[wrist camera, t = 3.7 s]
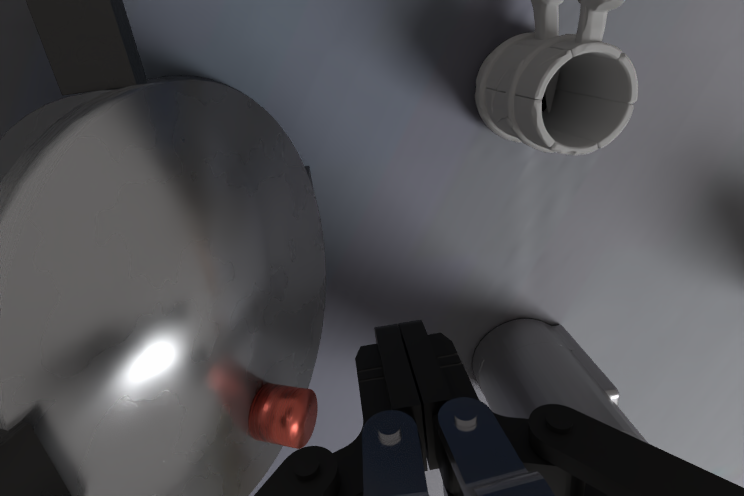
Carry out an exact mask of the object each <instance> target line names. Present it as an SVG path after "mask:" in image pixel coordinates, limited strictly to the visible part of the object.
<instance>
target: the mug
mask: <svg viewBox="0 0 744 496" xmlns="http://www.w3.org/2000/svg"><path fill="white" fill-rule="evenodd" d="M625 1H626V0H578V2H579V3H581V9H580V18H579V24H578V29H577V34H565V35H561V36H559V13H558V7H559V4H561V3H562V2H563V0H531V2H532V6H533V10H534V19H535V32H529V33H523V34H519V35H516V36H514V37H511V38H509V39H508V40H506V41H504V42H503V43H501V44H500V45H499V46H498V47H497V48H496V49H495V50H494V51H493V52H492V53H490V54H489V55H488V56H487V58H486V59H485V60H484V62H483V64H482V65H481V67H480V69H479V72H478V75H477V78H476V93H475V101H476V106H477V109H478V112H479V114H480V116H481V118H482V120H483V122H484V123H485V124H486V126H487V127H488V128H489V129H490V130H491V131H492V132H494V133H495V134H497V135H498V136H500V137H502V138H504V139H506V140H511V141H514V142H517V143H519V142H523V143H524V144H526V145H528V146H530V147H532V148H534V149H537V150H540V151H543V152H545V153H552V152H557V153H560V154H568V155H582V154H588V153H591V152H593V151H596V150H598V148H599V149H601V148H603V147H605V146H606V145H608V144H609V143H610V142H611V141H613V140H614V139H615V138H616V137H617V136H618V135H619V134H620V133H621V131H622V130H623V129H624V127H625V126H626V125H627V123H628V121H629V119H630V117H631V115H632V112H633V108H634V106H633V105H631V103H634V102H636V101H637V96H638V81H637V75H636V71H635V68H634V66H633V64H632V62H631V60H630V59H629V58H628V56H627V55H626V54H625V53H621V52H622V51H621V50H620V49H619V48H617V47H615V46H613V45H611V44H607V43H603V42H602V38H603V33H604V29H605V25H606V18H607V13H608V11H609V10H613V9H616V8H618V7H619V6H621V5H622V4H623V3H624V2H625ZM544 92H545V97H546V104H547V108H546V109H545V111H544V112H543V113H542V98H543V96H544Z"/></svg>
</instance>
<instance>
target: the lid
mask: <svg viewBox="0 0 744 496" xmlns="http://www.w3.org/2000/svg"><path fill="white" fill-rule="evenodd" d="M325 292H326V260H325V248H324V238H323V231H322V224H321V219H320V214H319V210H318V205H317V201H316V198H315V194H314V191H313V188H312V185H311V182H310V179H309V177H308V174H307V171H306V169H305V167H304V165H303V163H302V160H301V158H300V156H299V154H298V152H297V151H296V149H295V147H294V145H293V144H292V142H291V140H290V139H289V137H288V136H287V134H286V133H285V132H284V130H283V129H282V128H281V127H280V125H279V124H278V123H277V121H276V120H275V119H274V118H273V117H272V116H271V115H270V114H269V113H268V112H267V111H266V110H265V109H264V108H262V107H261V106H260V105H259V104H257V103H256V102H255V101H253V100H252V99H251V98H249V97H248V96H246V95H244V94H242V93H240V92H238V91H237V90H235V89H233V88H230V87H227V86H224V85H221V84H218V83H215V82H209V81H201V80H193V79H192V80H179V81H167V82H158V83H149V84H140V85H132V86H128V87H124V88H120V89H116V90H113V91H109V92H105V93H103V94H101V95H99V96H97V97H95V98H93V99H90V100H88V101H86V102H84V103H82V104H80V105H78V106H76V107H75V108H74V109H72V110H71V111H69V112H68V113H67V114H65V115H64V116H62V117H61V118H60V119H58V120H57V121H55V122H54V123H52V124H51V125H50V126H49V127H48V128H47V129H46V130H45V131H44V132H43V133H42V134H41V135H40V136H39V137H38V138H37V139H36V140H35V141H34V142H33V143H32V144H31V145H30V146H29V147H28V148H27V149H26V150H25V151H24V152H23V153H22V154H21V156H20V157H19V159H18V160H17V161H16V163H15V164H14V165H13V167H12V168H11V169H10V171H9V172H8V174H7V175H6V176H5V178H4V179H3V180H2V182H1V183H0V496H248V495H249V494H250V493H251V492H252V491H253V490H254V488H255V487H256V486H257V484H258V483H259V482H260V481H261V479H262V478H263V477H264V476H265V474H266V473H267V471H268V470H269V468H270V467H271V465H272V463H273V462H274V460H275V459H276V457H277V456H278V454H279V452H280V450H281V449H282V447H283V446H287V447H292V448H297V449H300V448H302V447H304V446H305V445H306V444H307V442H308V441H309V439H310V437H311V435H312V433H313V430H314V427H315V423H316V418H317V398H316V395H315V393H314V391H313V390H311V389H308V387H309V383H310V380H311V377H312V373H313V370H314V366H315V362H316V358H317V353H318V348H319V344H320V339H321V332H322V325H323V318H324V307H325Z"/></svg>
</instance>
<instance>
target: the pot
mask: <svg viewBox="0 0 744 496" xmlns="http://www.w3.org/2000/svg"><path fill="white" fill-rule="evenodd" d="M26 2H27V5H28V7H29V10H30V13H31V15H32V18H33V20H34V23H35V26H36V28H37V31H38V33H39V36H40V39H41V41H42V44H43V46H44V49H45V52H46V54H47V57H48V59H49V62H50V65H51V67H52V70H53V72H54V75H55V78H56V80H57V83H58V85H59V88H60V91H61V93H62V95H68V94H76V93H84V92H89V93H84V94H79V95H75V96H70V97H66V98H63V99H60V100H58V101H55V102H52V103H49V104H47V105H44V106H43V107H41V108H39V109H37V110H35V111H34V112H32V113H30V114H28V115H27V116H25V117H24V118H23V119H22V120H20V121H19V122H18V123H16V124H15V125H14V126H13V127H11V128H10V129H9V131H8V132H7V133H6V134H5V135H4V136H3V137H2V138H1V140H0V183H1V182H2V180H3V179H4V178H5V176H6V175H7V174H8V172H9V171H10V169H11V168H12V167H13V165H14V164H15V163H16V161H17V160H18V159H19V157H20V156H21V154H22V153H23V152H24V151H25V150H26V149H27V148H28V147H29V146H30V145H31V144H32V143H33V142H34V141H35V140H36V139H37V138H38V137H39V136H40V135H41V134H42V133H43V132H44V131H45V130H46V129H47V128H48V127H49V126H50V125H51V124H52V123H54V122H55V121H57V120H58V119H60V118H61V117H62V116H64V115H65V114H67V113H68V112H69V111H71V110H72V109H74V108H75V107H76V106H78V105H80V104H82V103H84V102H86V101H88V100H90V99H93V98H95V97H97V96H99V95H101V94H103V93H105V92H109V91H113V90H116V89H120V88H124V87H128V86H132V85H140V84H149V83H158V82H167V81H179V80H192V79H193V80H201V81H209V82H215V83H218V84H221V85H224V86H227V87H230V86H228V85H226V84H223V83H220V82H217V81H214V80H211V79H206V78H201V77H196V76H183V75H177V76H164V77H159V78H154V79H150V80H146V76H145V73H144V70H143V66H142V63H141V60H140V57H139V53H138V50H137V47H136V44H135V40H134V37H133V34H132V30H131V27H130V24H129V21H128V17H127V14H126V11H125V8H124V4H123V1H122V0H26ZM230 88H232V87H230ZM233 89H234V88H233ZM235 90H236V89H235ZM91 91H93V92H91ZM237 91H238V90H237ZM238 92H240V91H238ZM240 93H242V92H240ZM242 94H243V93H242ZM244 95H245V94H244ZM252 100H253V99H252ZM253 101H254V100H253ZM304 167H305V169H306V171H307V174H308V177H309V179H310V182H311V185H312V188H313V184H312V179H311V173H310V167H309V166H304ZM313 191H314V190H313Z"/></svg>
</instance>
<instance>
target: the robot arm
mask: <svg viewBox="0 0 744 496" xmlns="http://www.w3.org/2000/svg"><path fill="white" fill-rule="evenodd" d="M398 327H399V328H398ZM374 329H375V337H376V344H372V345H366V346H361V347H360V349H359V351H358V353H357V356H356V358H355V360H356V367H357V375H358V382H359V390H360V398H361V405H362V413H363V427H362V430H361V432H360V434H359V436H358V437H357V438H356V439H355V440H354V441H353V442H352V443H351V444H349V445H348V446H346V447H344V448H342V449H340V450H338V451H336V452H334V453H332V452H330V451H329V450H328V449H326V448H323V447H319V446H309V447H304V448H301V449H299V450H297V451H295V452H293V453H292V454H291V455H289V456H288V457H287V458H286V459H285V460H284V462H283V463H282V464H281V465H280V466H279V467H278V469H277V470H276V471H275V472H274V473H273V474H272V476H271V477H270V478H269V479H268V480H267V481H266V482H265V484H264V485H263V486H262V487H261V488H260V489H259V491H258V492H257V493H256V494H255V495H254V496H429V494H428V489H427V483H426V477H425V471H428V470H427V461H428V465H429V468H430V470H433V469H438V468H439V469H440V473H441V476H442V479H443V490H444V496H744V488H743V487H741V486H738V485H736V484H734V483H732V482H730V481H728V480H725V479H723V478H721V477H719V476H717V475H715V474H713V473H710V472H708V471H706V470H704V469H702V468H700V467H697V466H695V465H693V464H691V463H689V462H687V461H685V460H682V459H680V458H678V457H676V456H674V455H672V454H669V453H667V452H665V451H663V450H661V449H659V448H657V447H654V446H652V445H650V444H649V443H648V442H647V441H646V440H645V439H644V437H643V436H642V435H641V434H640V433H639V431H638V430H637V429H636V428H635V427H634V425H633V424H632V423H631V422H630V421H629V419H628V418H627V417H626V416H625V415H624V413H623V412H622V411H621V410H620V409H619V407H618V400H619V392H618V390H617V388H616V387H615V386H614V385H613V383H612V382H611V381H610V380H609V379H608V378H607V377H606V375H605V374H604V373H603V372H602V371H601V370H600V369H599V367H598V366H597V365H596V364H595V363H594V362H593V361H592V359H591V358H590V357H589V356H588V355H587V354H586V352H585V351H584V350H583V349H582V348H581V347H580V346H579V344H578V343H577V342H576V341H575V340H574V339H573V338H572V336H571V335H570V334H569V333H568V332H567V331H566V330H565V328H564V327H563V326H562V325H557V326H551V325H548V324H546V323H544V322H542V321H539V320H535V319H518V320H513V321H510V322H507V323H504V324H502V325H500V326H498V327H496V328H495V329H493V330H492V331H491V332H489V333H488V334H487V335H486V336H485V337H484V338H483V339H482V340H481V342H480V343H479V345H478V347H477V348H476V350H475V353H474V356H473V364H472V366H473V372H474V374H475V377H476V379H477V381H478V384H479V386H480V389H481V391H482V393H483V394H484V396H485V398H486V400H487V402H488V405H489V407H490V408H489V407H488V406H487V405H486V404H484V403H483V402H481V401H480V400H479V399H478V397H477V395H476V392H475V390H474V388H473V386H472V384H471V382H470V379H469V377H468V375H467V373H466V371H465V369H464V367H463V364H462V363H461V360H460V358H459V356H458V355H457V351H456V349H455V347H454V345H453V343H452V341H451V340H449V339H448V338H447V337H446V336H444V335H443V334H442V333H436V334H430V335H427V332H426V330H425V327H424V325H423V322H422V320H417V321H411V322H405V323H399V324H398V325H397V324H393V325H387V326H381V327H375V328H374ZM426 457H427V460H426Z"/></svg>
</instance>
